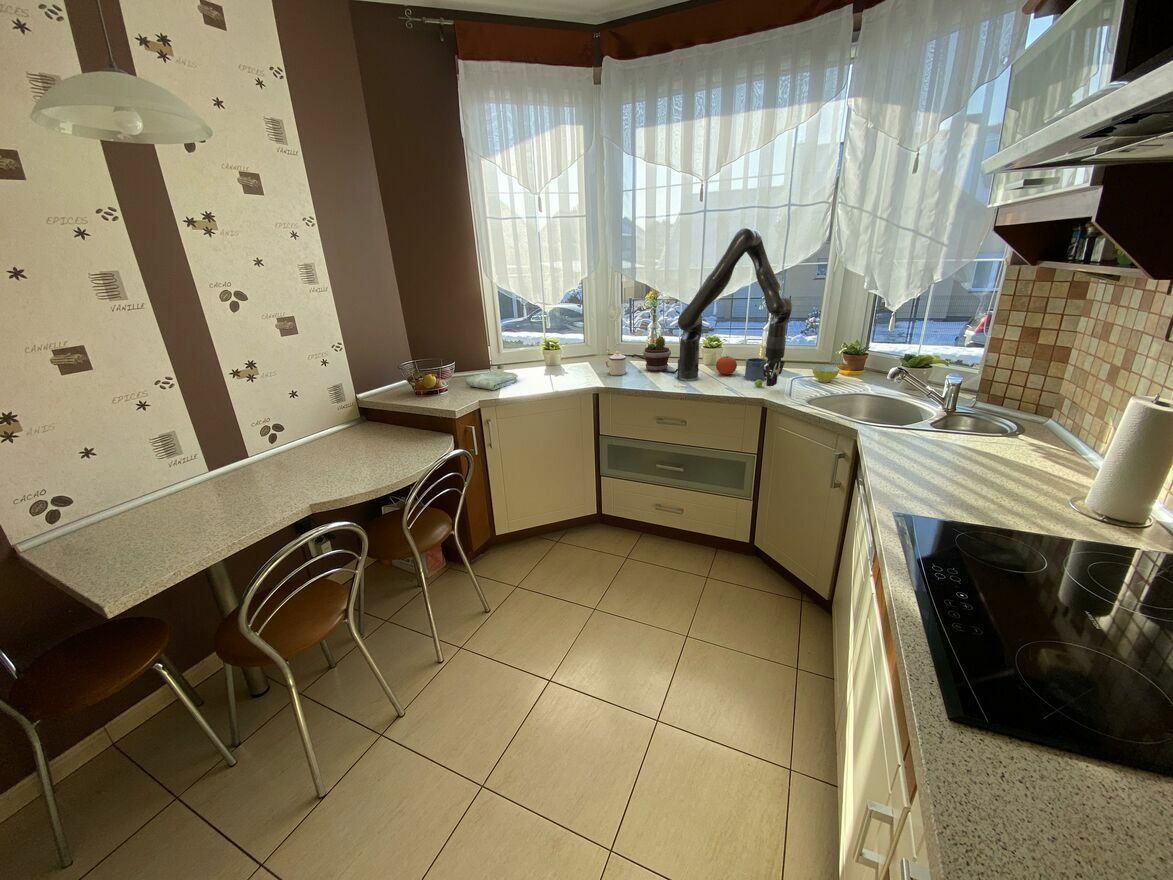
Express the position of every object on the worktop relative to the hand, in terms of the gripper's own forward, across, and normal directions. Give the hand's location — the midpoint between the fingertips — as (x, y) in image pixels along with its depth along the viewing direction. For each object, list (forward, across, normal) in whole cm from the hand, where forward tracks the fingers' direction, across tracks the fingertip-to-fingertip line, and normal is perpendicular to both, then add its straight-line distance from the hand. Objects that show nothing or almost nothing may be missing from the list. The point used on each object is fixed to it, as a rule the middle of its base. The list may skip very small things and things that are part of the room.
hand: (771, 385), depth 210 cm
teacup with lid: (+4, +25, -77) cm, 81 cm away
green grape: (+3, -2, -8) cm, 8 cm away
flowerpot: (+4, +5, -66) cm, 66 cm away
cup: (+3, -14, -18) cm, 23 cm away
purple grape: (0, 0, 0) cm, 0 cm away
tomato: (+3, -11, -33) cm, 35 cm away
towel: (+4, +83, -106) cm, 134 cm away
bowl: (+3, -30, +8) cm, 31 cm away
